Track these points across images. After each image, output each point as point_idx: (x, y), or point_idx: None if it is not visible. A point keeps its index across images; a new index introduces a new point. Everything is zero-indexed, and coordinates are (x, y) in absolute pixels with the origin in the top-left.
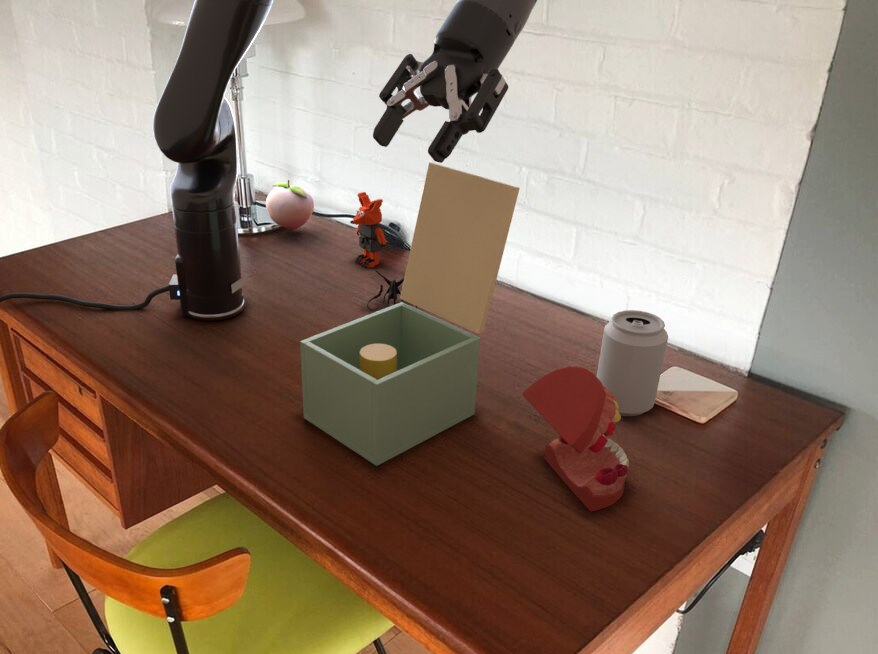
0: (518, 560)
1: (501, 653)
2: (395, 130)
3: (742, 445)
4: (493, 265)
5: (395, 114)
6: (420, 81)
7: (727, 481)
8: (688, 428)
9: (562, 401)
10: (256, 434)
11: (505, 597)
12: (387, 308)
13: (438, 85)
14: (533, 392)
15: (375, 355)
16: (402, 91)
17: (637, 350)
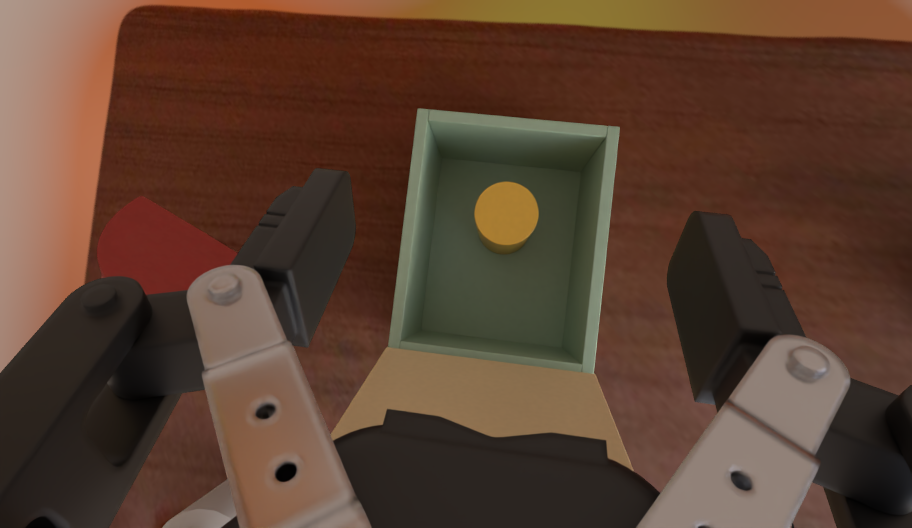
0: (212, 128)
1: (161, 16)
2: (685, 335)
3: None
4: (355, 407)
5: (720, 341)
6: (659, 495)
7: None
8: (173, 502)
9: (171, 249)
10: (608, 94)
11: (194, 75)
12: (593, 334)
13: (474, 514)
14: None
15: (501, 200)
16: (794, 440)
17: (181, 512)
